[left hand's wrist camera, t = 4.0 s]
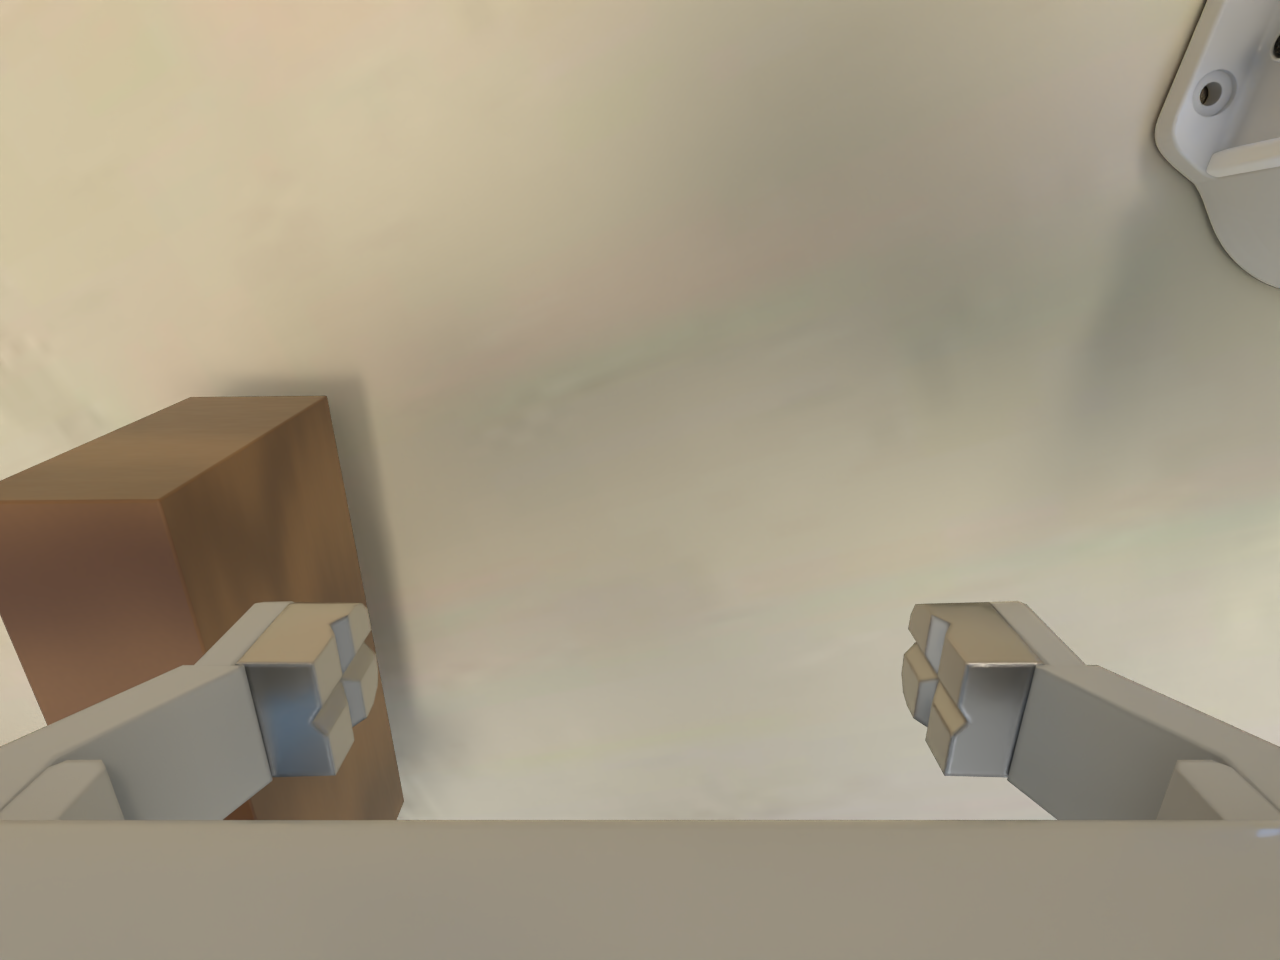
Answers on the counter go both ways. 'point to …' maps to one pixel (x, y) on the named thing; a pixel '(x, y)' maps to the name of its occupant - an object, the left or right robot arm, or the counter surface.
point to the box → (187, 567)
